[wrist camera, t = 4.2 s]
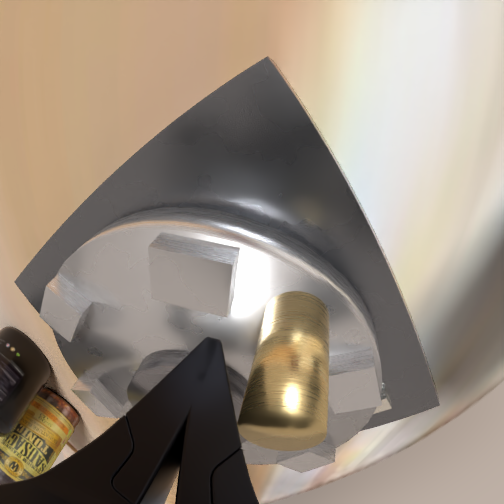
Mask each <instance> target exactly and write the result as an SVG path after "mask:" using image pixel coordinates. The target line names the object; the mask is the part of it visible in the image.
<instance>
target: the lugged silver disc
mask: <svg viewBox="0 0 504 504" xmlns="http://www.w3.org/2000/svg"><path fill="white" fill-rule="evenodd" d="M40 317H41V318H42V319H43V320H44V321H45V322H46V323H47V324H48V325H50V326H51V327H52V329H53V332H54V335H55V338H56V341H57V344H58V346H59V348H60V350H61V352H62V354H63V356H64V358H65V360H66V361H67V363H68V365H69V366H70V368H71V370H72V371H73V372H74V374H75V375H76V376H77V378H78V380H77V381H76V383H75V384H74V386H73V387H72V389H71V390H72V391H73V392H74V393H75V394H76V395H77V396H78V397H79V398H80V400H81V401H82V402H83V403H84V404H85V405H86V406H87V407H88V408H89V409H90V410H91V411H92V412H93V413H95V414H96V415H97V416H101V417H109V418H118V417H119V418H121V417H122V416H123V415H125V416H126V413H127V412H128V411H129V410H130V409H131V408H132V407H133V406H134V405H135V404H136V403H137V402H138V401H140V400H141V399H142V398H143V397H144V396H145V395H146V394H147V393H148V392H149V391H150V390H151V389H152V388H153V387H154V386H155V385H157V384H158V383H159V382H160V381H161V380H162V379H163V378H164V377H165V376H166V375H167V374H168V373H169V372H170V371H171V370H172V369H173V368H174V367H175V366H177V365H178V364H179V363H180V362H181V361H182V360H183V359H184V358H185V357H186V356H187V355H188V354H189V353H190V352H191V351H192V350H193V349H194V348H195V347H196V346H197V345H198V344H199V343H200V342H201V341H202V340H203V339H204V338H206V337H212V338H216V339H219V340H221V342H222V346H223V352H224V357H225V363H226V368H227V374H228V379H229V384H230V390H231V395H232V400H233V405H234V410H235V415H236V420H237V425H238V430H239V435H240V439H241V444H242V448H241V449H243V453H244V457H245V462H246V464H261V465H262V464H280V465H282V466H285V467H287V468H290V469H293V470H295V471H298V472H301V473H302V472H306V471H309V470H312V469H315V468H318V467H321V466H324V465H327V464H330V463H333V462H335V448H336V447H338V446H340V445H342V444H343V443H345V442H347V441H348V440H349V439H351V438H352V437H353V436H355V435H356V434H357V433H358V432H359V431H360V430H361V429H362V428H363V427H364V426H365V425H366V424H367V423H368V421H369V420H370V418H371V417H372V415H373V414H374V412H375V410H376V408H377V406H381V405H382V401H381V390H382V370H381V362H380V355H379V348H378V342H377V335H376V331H375V328H374V325H373V322H372V318H371V315H370V314H369V312H368V310H367V308H366V306H365V304H364V302H363V300H362V298H361V297H360V295H359V294H358V293H357V291H356V290H355V289H354V288H353V286H352V285H351V284H350V282H349V281H348V280H347V278H346V277H345V276H344V275H342V274H341V273H340V272H339V271H338V270H337V269H336V268H335V267H334V266H333V265H332V264H331V263H330V262H329V261H328V260H327V259H325V258H324V257H323V256H321V255H320V254H318V253H317V252H316V251H314V250H313V249H311V248H310V247H309V246H307V245H306V244H304V243H303V242H301V241H299V240H297V239H295V238H294V237H292V236H290V235H288V234H286V233H284V232H282V231H281V230H279V229H277V228H274V227H272V226H269V225H267V224H264V223H261V222H259V221H256V220H254V219H251V218H248V217H245V216H241V215H237V214H233V213H229V212H225V211H220V210H215V209H206V208H197V207H162V208H156V209H151V210H145V211H140V212H137V213H134V214H131V215H128V216H126V217H123V218H120V219H118V220H116V221H115V222H113V223H111V224H109V225H108V226H106V227H104V228H103V229H102V230H100V231H99V232H98V233H97V234H95V235H94V236H93V237H92V238H91V239H89V240H88V241H87V242H86V243H84V244H83V245H82V246H81V247H80V248H79V249H77V250H76V251H75V252H74V253H73V254H72V255H71V256H70V257H69V258H68V259H67V260H66V261H65V262H64V263H63V265H62V266H61V268H60V269H59V271H58V273H57V274H56V277H55V278H54V279H53V280H51V281H50V282H49V283H48V284H47V285H46V288H45V292H44V297H43V302H42V306H41V311H40Z"/></svg>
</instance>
